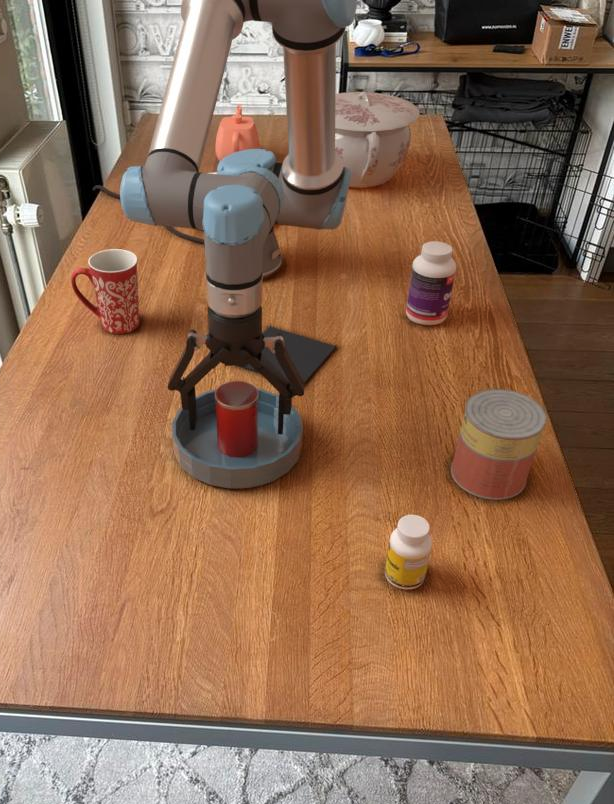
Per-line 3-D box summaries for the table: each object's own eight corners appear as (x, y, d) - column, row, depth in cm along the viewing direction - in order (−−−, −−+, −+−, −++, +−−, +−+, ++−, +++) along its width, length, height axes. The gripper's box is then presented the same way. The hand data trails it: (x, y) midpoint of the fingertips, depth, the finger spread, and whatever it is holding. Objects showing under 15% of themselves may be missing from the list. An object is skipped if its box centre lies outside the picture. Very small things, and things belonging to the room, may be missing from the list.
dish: (149, 442, 125) (146, 421, 122) (245, 393, 134) (244, 372, 131) (228, 510, 114) (228, 488, 111) (327, 451, 123) (329, 429, 120)
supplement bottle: (380, 561, 106) (388, 511, 100) (419, 558, 107) (430, 508, 100) (388, 592, 102) (398, 542, 96) (429, 589, 103) (441, 539, 96)
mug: (146, 311, 154) (139, 247, 145) (143, 336, 148) (135, 271, 138) (82, 312, 154) (71, 248, 145) (76, 337, 147) (64, 272, 138)
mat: (232, 364, 141) (232, 362, 140) (269, 328, 150) (269, 326, 149) (302, 387, 136) (302, 385, 135) (335, 347, 144) (336, 346, 144)
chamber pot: (339, 150, 216) (345, 68, 202) (429, 172, 204) (442, 87, 190) (282, 183, 199) (284, 97, 185) (377, 210, 188) (386, 120, 173)
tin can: (208, 442, 124) (205, 392, 117) (240, 425, 127) (239, 375, 120) (234, 463, 120) (233, 412, 113) (266, 445, 123) (267, 394, 116)
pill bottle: (446, 330, 149) (459, 260, 139) (403, 325, 150) (414, 256, 140) (447, 308, 155) (460, 240, 145) (406, 304, 156) (416, 236, 146)
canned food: (477, 440, 125) (493, 379, 117) (540, 474, 119) (561, 412, 111) (436, 474, 119) (449, 412, 111) (499, 511, 113) (519, 448, 105)
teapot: (259, 176, 203) (259, 128, 195) (213, 176, 203) (212, 128, 195) (260, 147, 217) (260, 102, 209) (218, 147, 218) (216, 101, 209)
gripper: (139, 316, 104) (153, 438, 119) (325, 323, 103) (316, 446, 117) (149, 288, 110) (161, 408, 124) (326, 295, 108) (317, 415, 123)
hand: (236, 427), depth 121 cm, fingers open, 13 cm apart
